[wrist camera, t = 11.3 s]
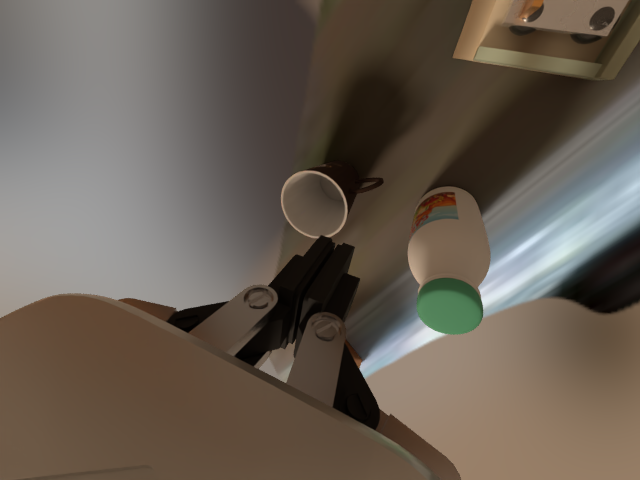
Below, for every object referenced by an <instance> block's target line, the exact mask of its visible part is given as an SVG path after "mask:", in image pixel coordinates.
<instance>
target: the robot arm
mask: <svg viewBox="0 0 640 480" xmlns="http://www.w3.org/2000/svg"><path fill="white" fill-rule="evenodd" d="M334 248H335V243H333V242H332V239H331V238H328V237H326V236H323V235H320V237H319V238H318V239H317V240H316V241H315V243H314V244H313V245H312V246H311V248H310V249H309V250H308V251H307V252H306V254H305V255H304V256H303V257H302V256H300V255H295V256H294V257H293V258H292V259H291V260H290V261H289V262H288V264H287V265H286V266H285V267H284V268H283V269H282V271H281V272H280V273H279V274H278V275H277V276H276V277H275V279H274V280H273V281H272V282H271V283H270V284H269V285H268V286H265V285H253V286H250V287H248V288H246V289H244V290H243V291H242V292H241V293H239V294H238V295H237V296H235V297H234V298H233V299H232V300H230V301H227V302H222V303H216V304H211V305H205V306H200V307H194V308H188V309H184V310H182V311H179V312H178V311H177V310H176V308H173V307H168V306H164V305H160V304H155V303H150V302H146V301H141V300H137V299H131V298H125V299H120V300H114V299H111V298H107V297H103V296H97V295H89V294H59V295H55V296H50V297H47V298H44V299H41V300H39V301H36V302H34V303H31V304H29V305H27V306H24V307H22V308H20V309H18V310H16V311H14V312H12V313H10V314H8V315H6V316H4V317H2V318H0V480H461V477H460V475H459V473H458V471H457V469H456V468H455V466H454V465H453V463H452V462H451V461H450V460H449V459H448V458H447V457H446V456H444V455H443V454H442V453H440V452H439V451H438V450H436V449H435V448H434V447H433V446H431V445H430V444H429V443H427V442H426V441H425V440H424V439H422V438H421V437H420V436H418V435H417V434H416V433H415V432H413V431H412V430H411V429H409V428H408V427H407V426H406V425H404V424H403V423H402V422H400V421H399V420H398V419H397V418H395V417H394V416H393V415H391V414H390V415H389V416H388V415H387V414H385V413H384V412H383V411H382V410H380V409H379V407H378V404H377V402H376V399H375V398H374V396H373V394H372V392H371V390H370V388H369V387H368V384H367V383H366V381H365V379H364V377H363V375H362V373H361V371H360V370H359V368H358V366H357V364H356V362H355V360H354V358H353V357H352V355H351V353H350V351H349V349H348V347H347V345H346V344H345V337H346V327H345V324H344V322H345V319H346V317H347V314H348V312H349V310H350V307H351V305H352V302H353V299H354V297H355V294H356V291H357V288H358V285H359V281H360V278H357V277H354V276H352V275H349V274H347V273H348V269H349V266H350V262H351V259H352V255H353V252H354V248H355V247H354V246H351V245H348V244H345V243H343V244H342V245H339V244H338V245H337V247H336V248H335V250H334ZM295 339H296V343H295V349H294V358H295V360H294V362H293V365H292V368H291V371H290V374H289V377H288V380H287V382H286V383H284V382H282V381H280V380H278V379H276V378H275V377H273V376H271V375H269V374H267V373H265V372H263V371H261V370H259V368H260V367H261V365H262V364H263V363H264V362H265V361H266V360H267V358H268V357H269V356H270V355H271V353H272V350H275V349H279V348H280V347H281V348H283V349H285V348H286V346H287V345H288V343H291V344H293V343H294V341H295Z"/></svg>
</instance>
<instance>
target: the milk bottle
mask: <svg viewBox="0 0 640 480" xmlns="http://www.w3.org/2000/svg"><path fill="white" fill-rule="evenodd" d="M408 261H409V266H410V269H411V271H412V274H413V276H414V277H415V279H416V280H417V282H418V283H419V284H420V287H419V289H418V297H417V312H418V315H419V317H420V319H421V320H422V321H423V322H424V323H425V324H426V325H427V326H428V327H430V328H431V329H433V330H435V331H438V332H441V333H445V334H463V333H467V332H470V331H472V330H474V329H475V328H476V327H477V326H478V325H479V324H480V322H481V320H482V317H483V305H482V301H481V295H480V292H479V290H478V286H479V285H480V284H481V283H482V281H483V280H484V278H485V276H486V274H487V272H488V269H489V265H490V247H489V242H488V238H487V234H486V231H485V227H484V224H483V220H482V217H481V214H480V210H479V207H478V205H477V202H476V200H475V199H474V198H473V196H472V195H471V194H470V193H468V192H467V191H465V190H463V189H460V188H457V187H450V186H446V187H440V188H436V189H434V190H431V191H430V192H428V193H427V194H425V195H424V196H423V197H422V198H421V199H420V201H419V202H418V204H417V207H416V210H415V214H414V219H413V224H412V228H411V234H410V239H409V246H408Z"/></svg>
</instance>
